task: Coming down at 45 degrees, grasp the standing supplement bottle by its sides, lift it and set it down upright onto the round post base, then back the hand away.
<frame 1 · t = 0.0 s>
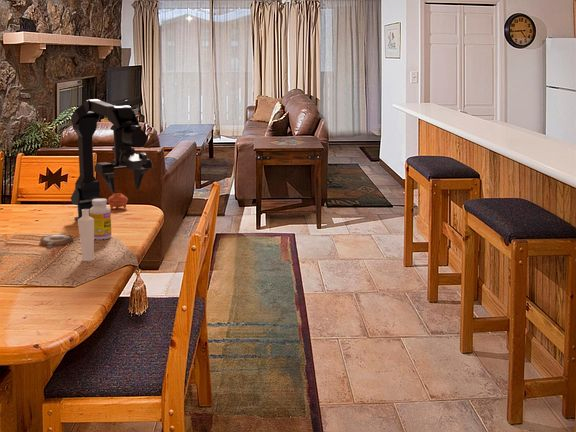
hand: (125, 191, 215), 15 cm above the table, fingers open, 9 cm apart
pot: (118, 209, 255), on the table
perfume bottle: (87, 259, 189), on the table
supplement bottle: (101, 238, 213), on the table
post base: (57, 241, 207), on the table
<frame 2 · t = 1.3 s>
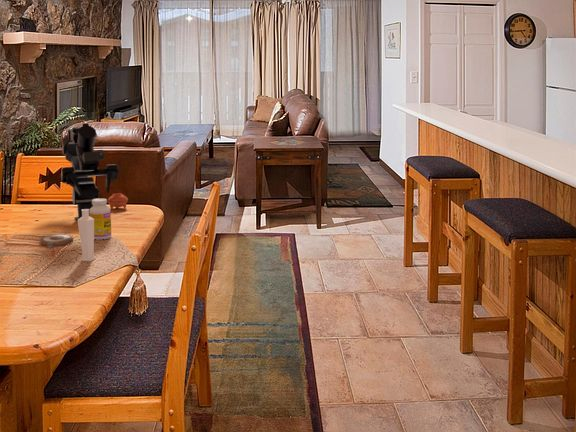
hand: (94, 193, 217), 13 cm above the table, fingers open, 9 cm apart
nothing on the table moved.
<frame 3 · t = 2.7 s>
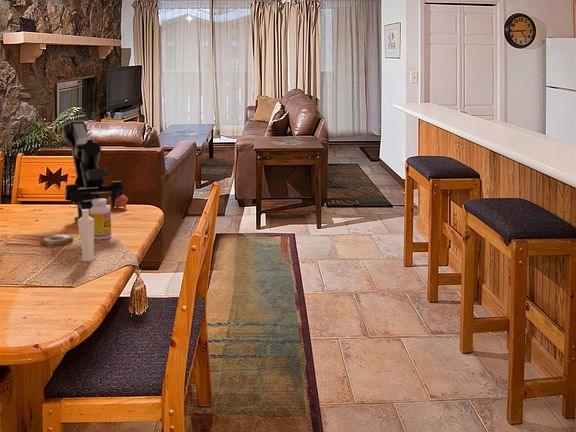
hand: (99, 211, 212), 9 cm above the table, fingers open, 9 cm apart
nothing on the table moved.
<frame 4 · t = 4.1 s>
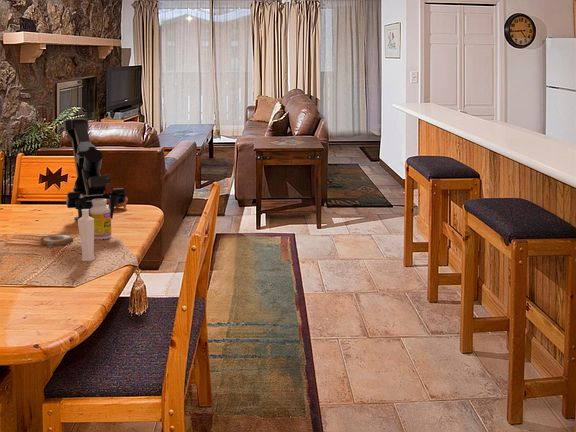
hand: (101, 219, 210), 7 cm above the table, fingers closed on supplement bottle, 7 cm apart
supplement bottle: (101, 238, 213), on the table, touching gripper
everything else where it was.
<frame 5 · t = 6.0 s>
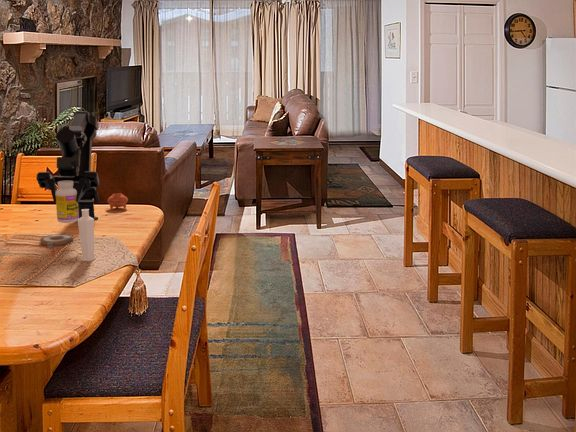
hand: (65, 201, 204), 13 cm above the table, fingers closed on supplement bottle, 7 cm apart
supplement bottle: (68, 221, 207), point 7 cm above the table, touching gripper
everything else where it was.
when the fingers open (9 cm above the table, at t = 7.9 s): supplement bottle stays where it is, resting on post base.
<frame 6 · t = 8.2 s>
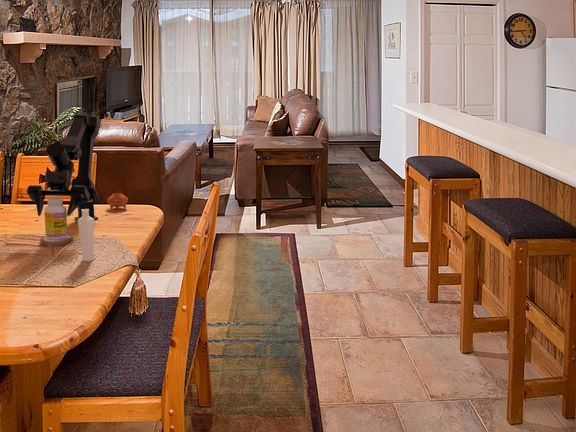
hand: (53, 215, 204), 9 cm above the table, fingers open, 9 cm apart
supplement bottle: (57, 238, 207), point 1 cm above the table, touching post base
everything else where it was.
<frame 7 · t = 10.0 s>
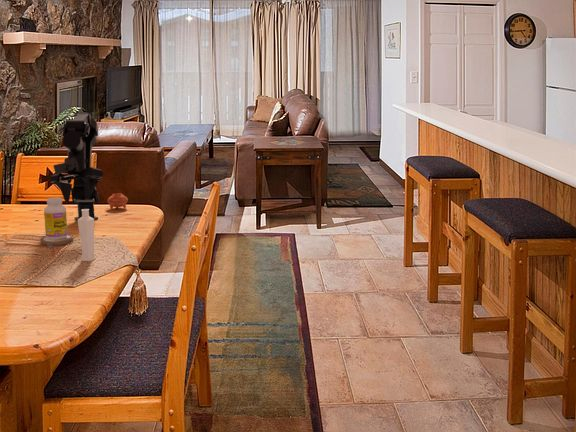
hand: (76, 201, 217), 11 cm above the table, fingers open, 9 cm apart
nothing on the table moved.
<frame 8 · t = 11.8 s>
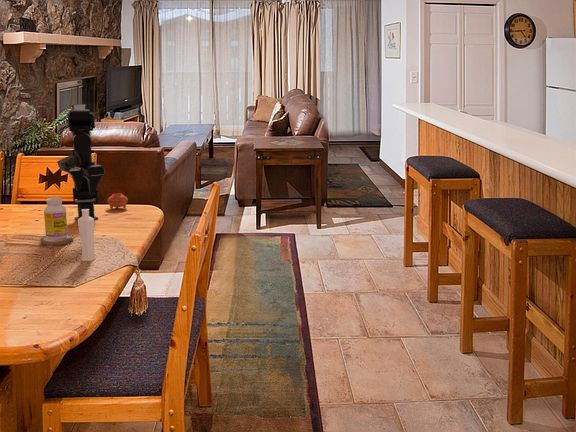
hand: (85, 192, 220), 13 cm above the table, fingers open, 9 cm apart
nothing on the table moved.
at the end: supplement bottle 0.2 cm from the post base (horizontally); supplement bottle tilted 0°; the gripper is holding nothing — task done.
